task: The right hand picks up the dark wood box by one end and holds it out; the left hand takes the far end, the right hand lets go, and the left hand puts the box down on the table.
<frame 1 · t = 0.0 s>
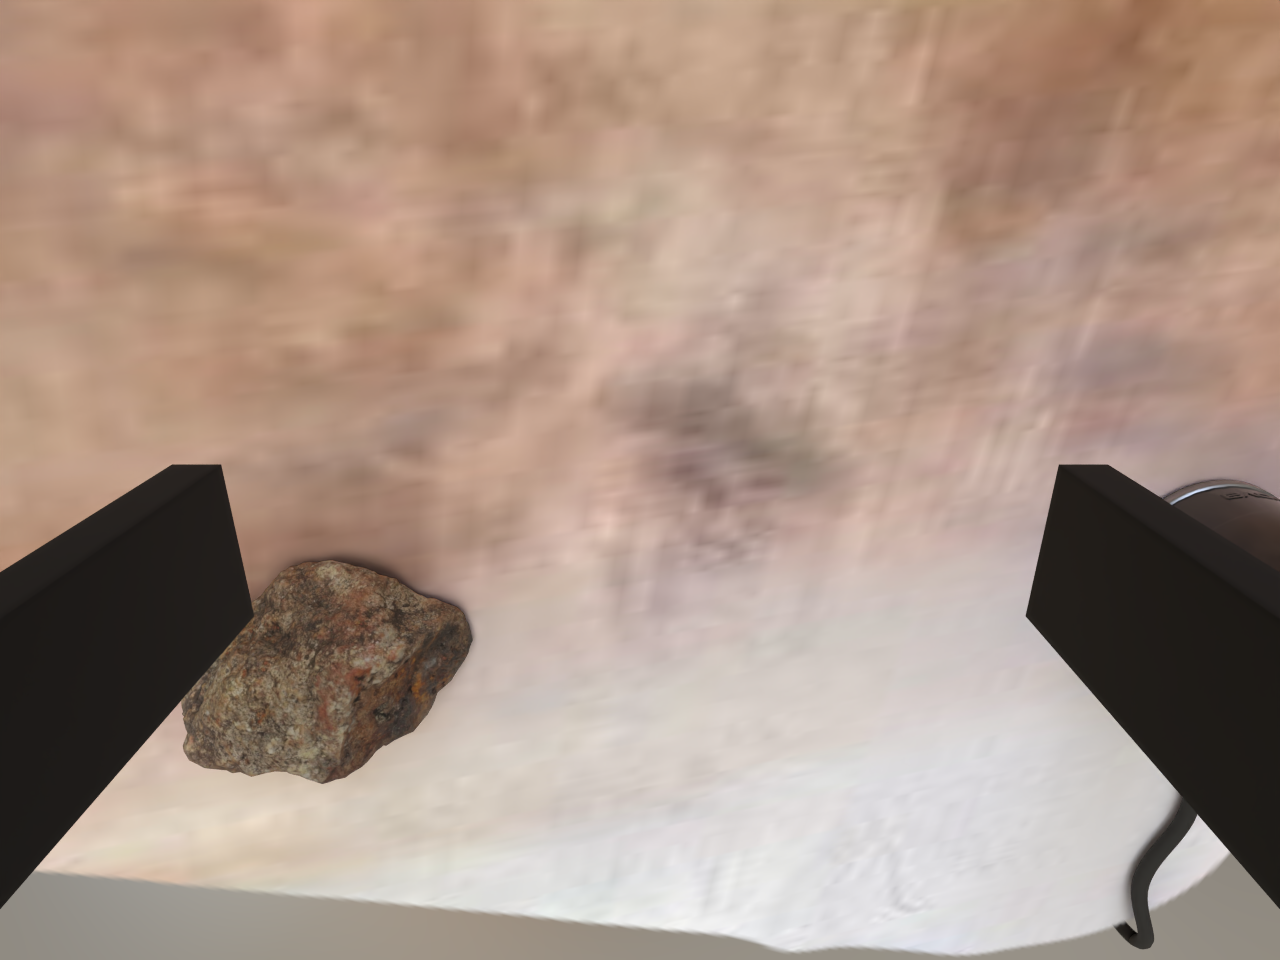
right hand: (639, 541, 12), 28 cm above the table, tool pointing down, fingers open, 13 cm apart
rock: (349, 628, 46), on the table
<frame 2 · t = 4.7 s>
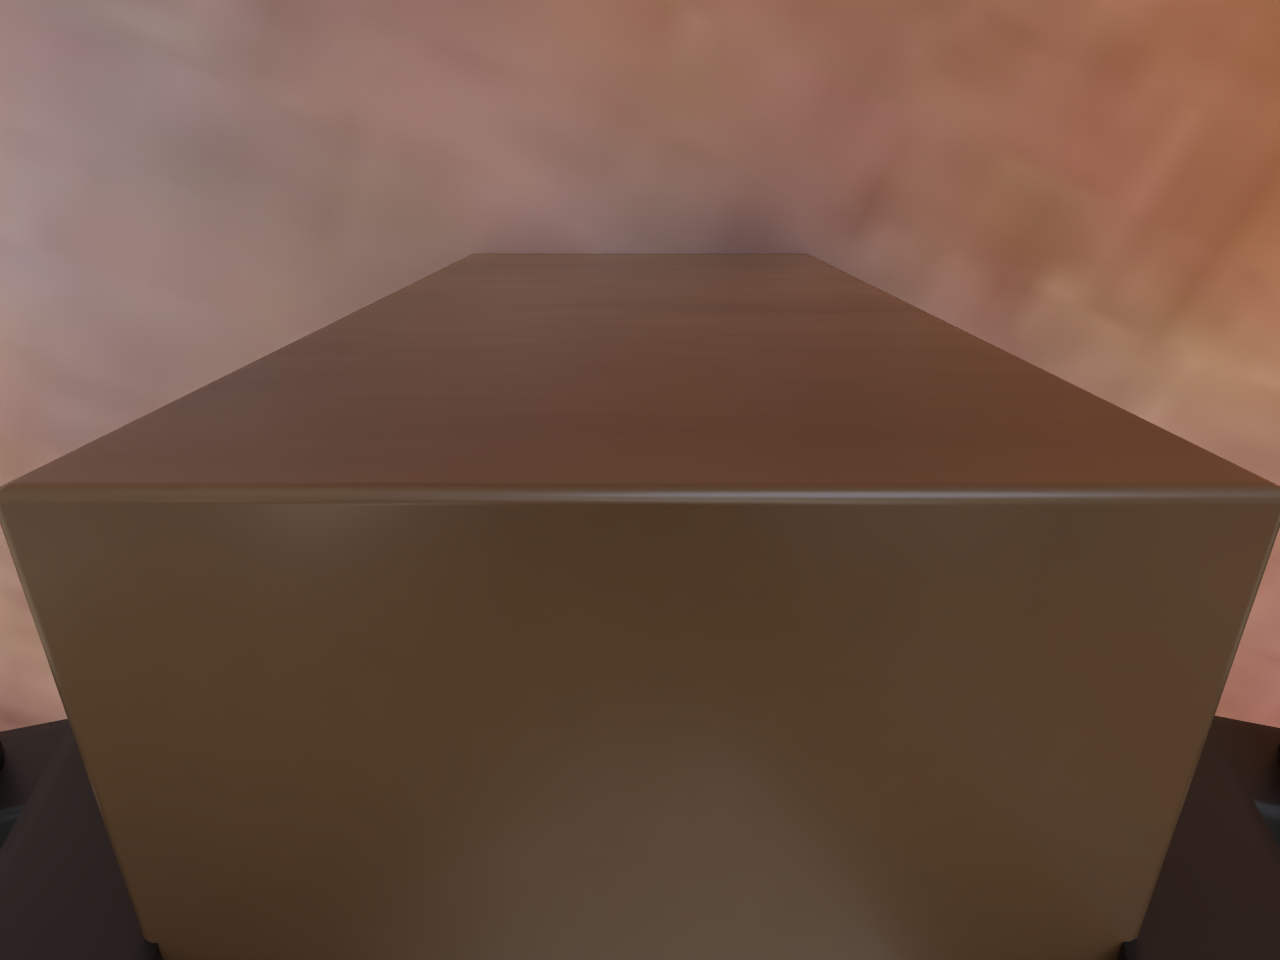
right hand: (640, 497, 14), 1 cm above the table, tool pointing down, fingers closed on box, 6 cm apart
box: (640, 766, 18), on the table, touching right hand
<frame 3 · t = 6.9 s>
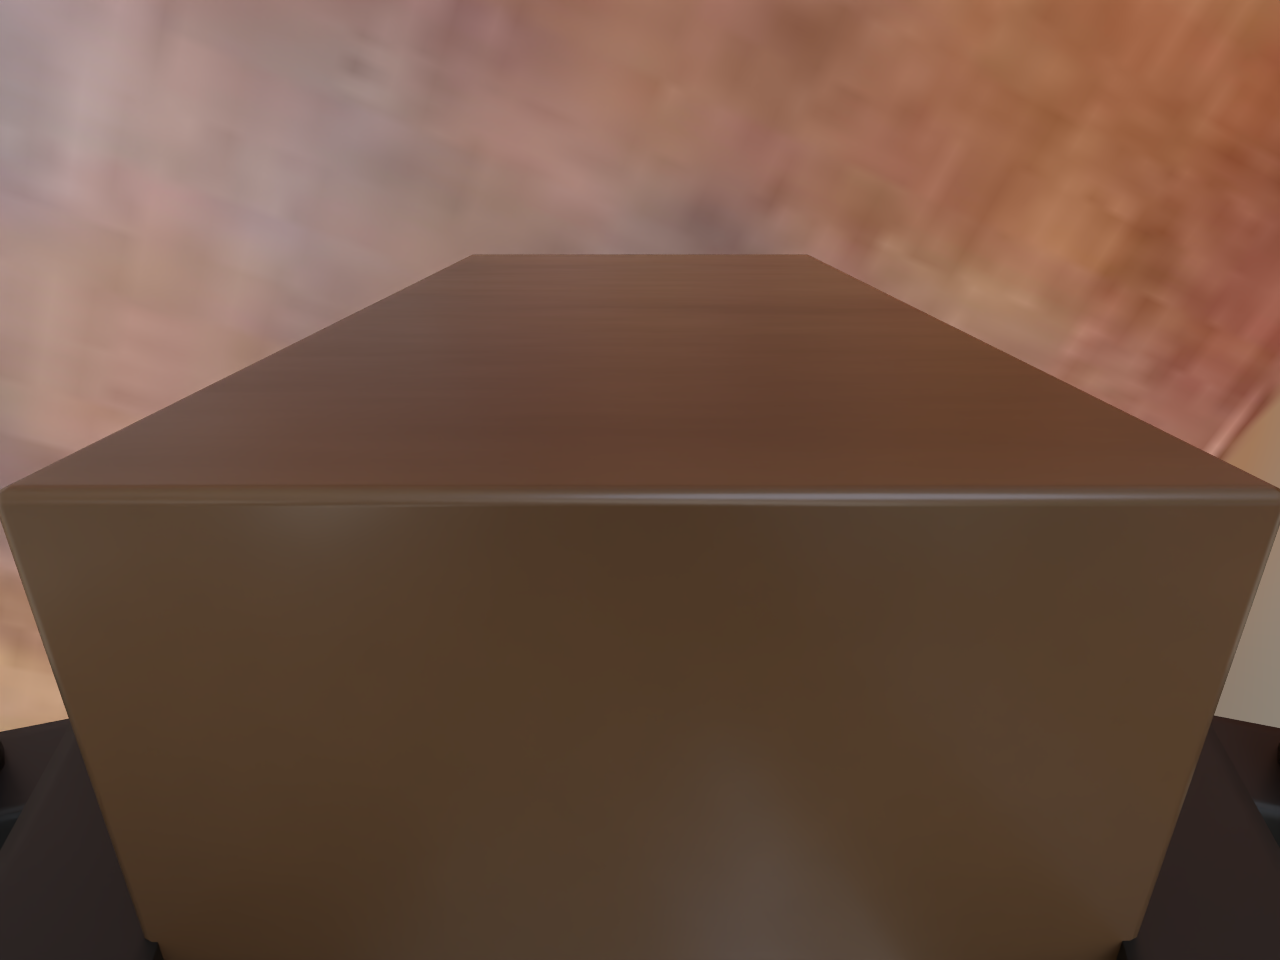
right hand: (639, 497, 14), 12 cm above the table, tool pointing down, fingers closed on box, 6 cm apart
box: (640, 767, 18), point 10 cm above the table, touching right hand
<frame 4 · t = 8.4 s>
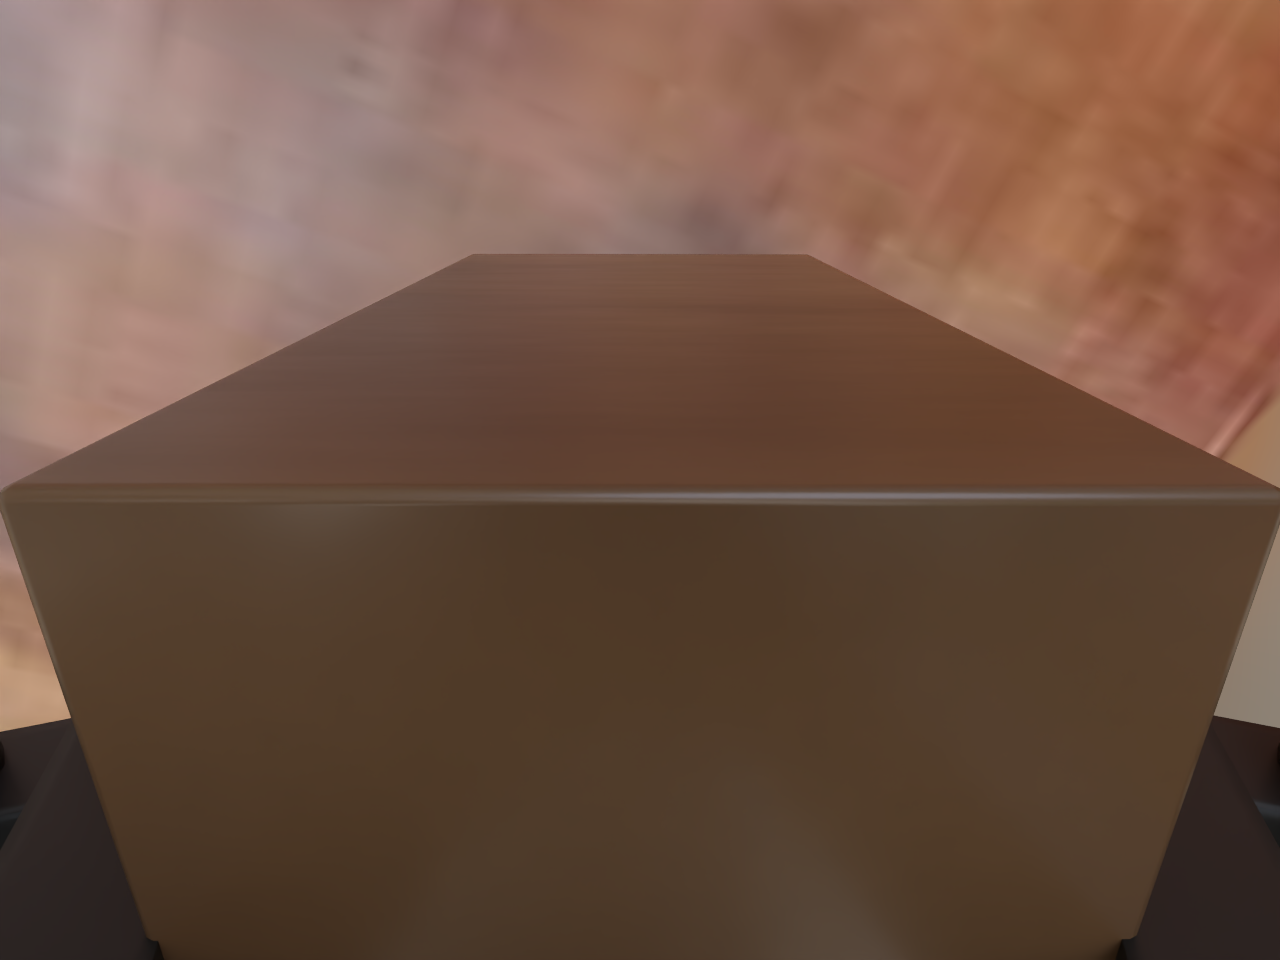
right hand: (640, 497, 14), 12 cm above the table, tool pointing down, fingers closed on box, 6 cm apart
box: (639, 766, 18), point 10 cm above the table, touching right hand, left hand
when the right hand's fingers open (12 cm above the table, at t = 9.5 s): box stays where it is, held by the left hand.
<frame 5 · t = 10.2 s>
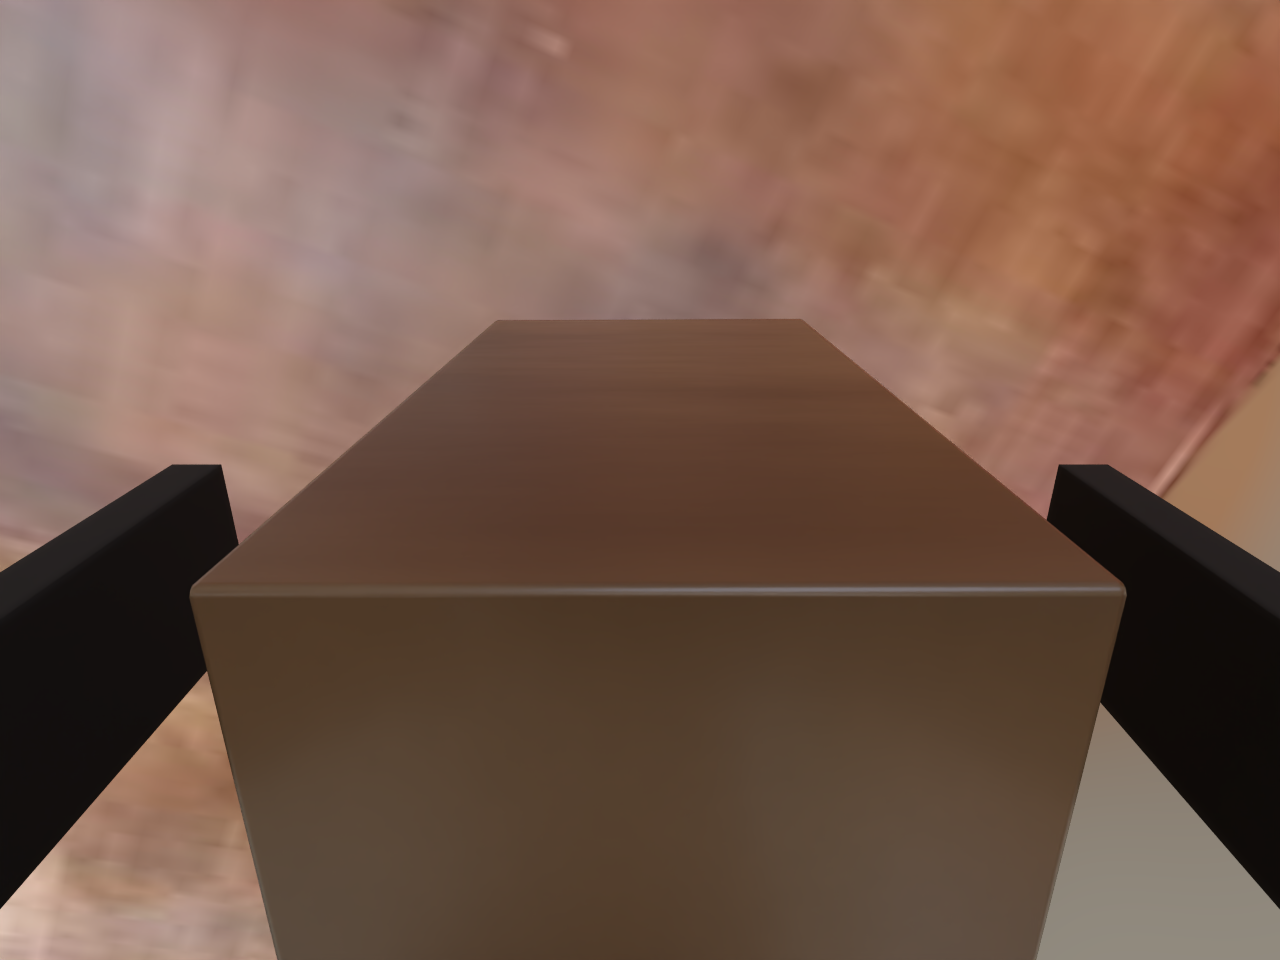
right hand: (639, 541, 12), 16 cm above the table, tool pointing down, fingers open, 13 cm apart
box: (649, 786, 19), point 12 cm above the table, touching left hand
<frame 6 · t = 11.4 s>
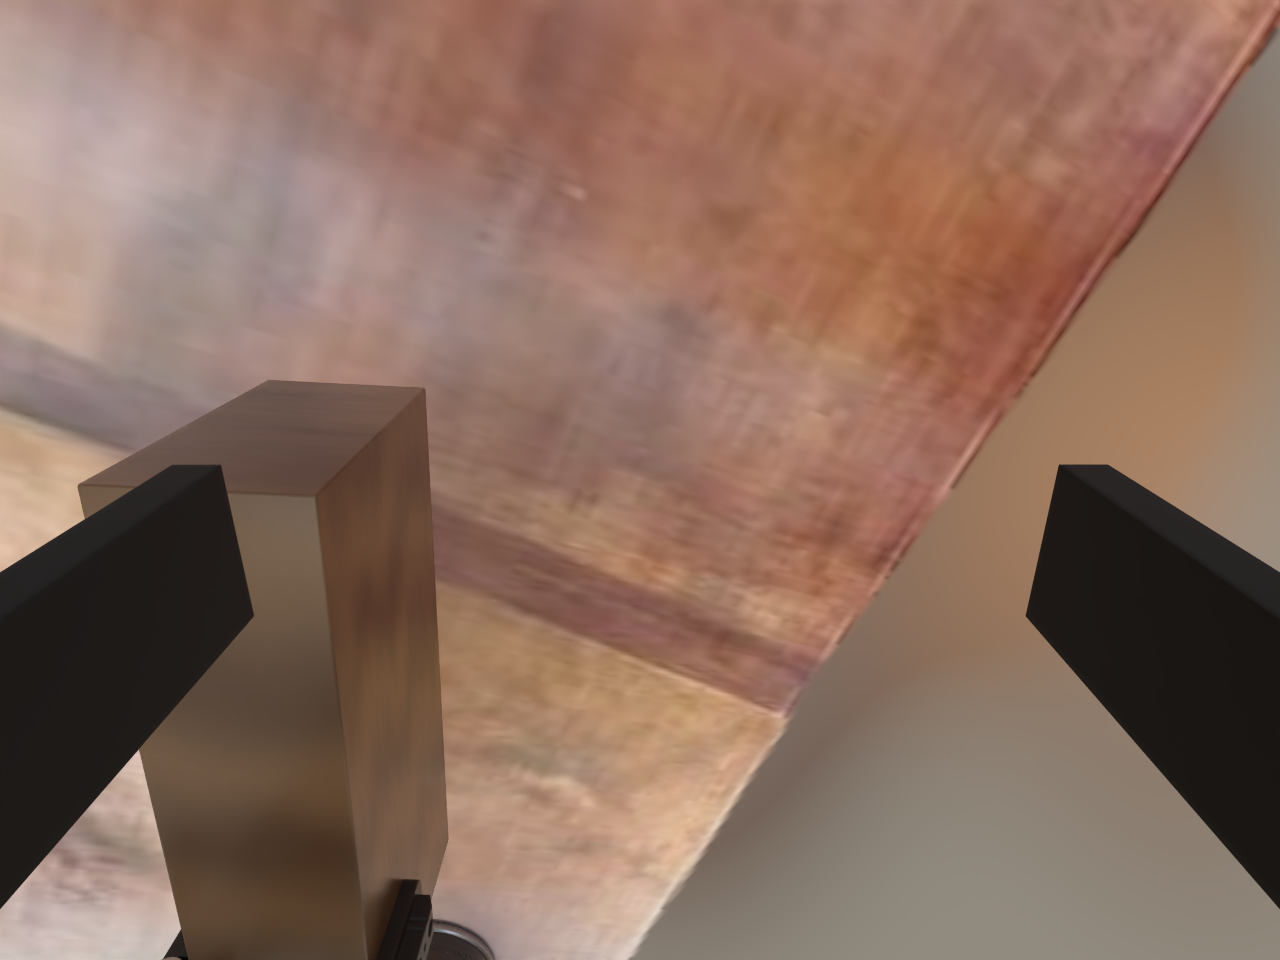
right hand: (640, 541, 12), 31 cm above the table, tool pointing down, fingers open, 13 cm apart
box: (369, 638, 34), point 13 cm above the table, touching left hand
when the left hand's fingers open (8 cm above the table, at t = 14.2 s): box drops 2 cm, on the table.
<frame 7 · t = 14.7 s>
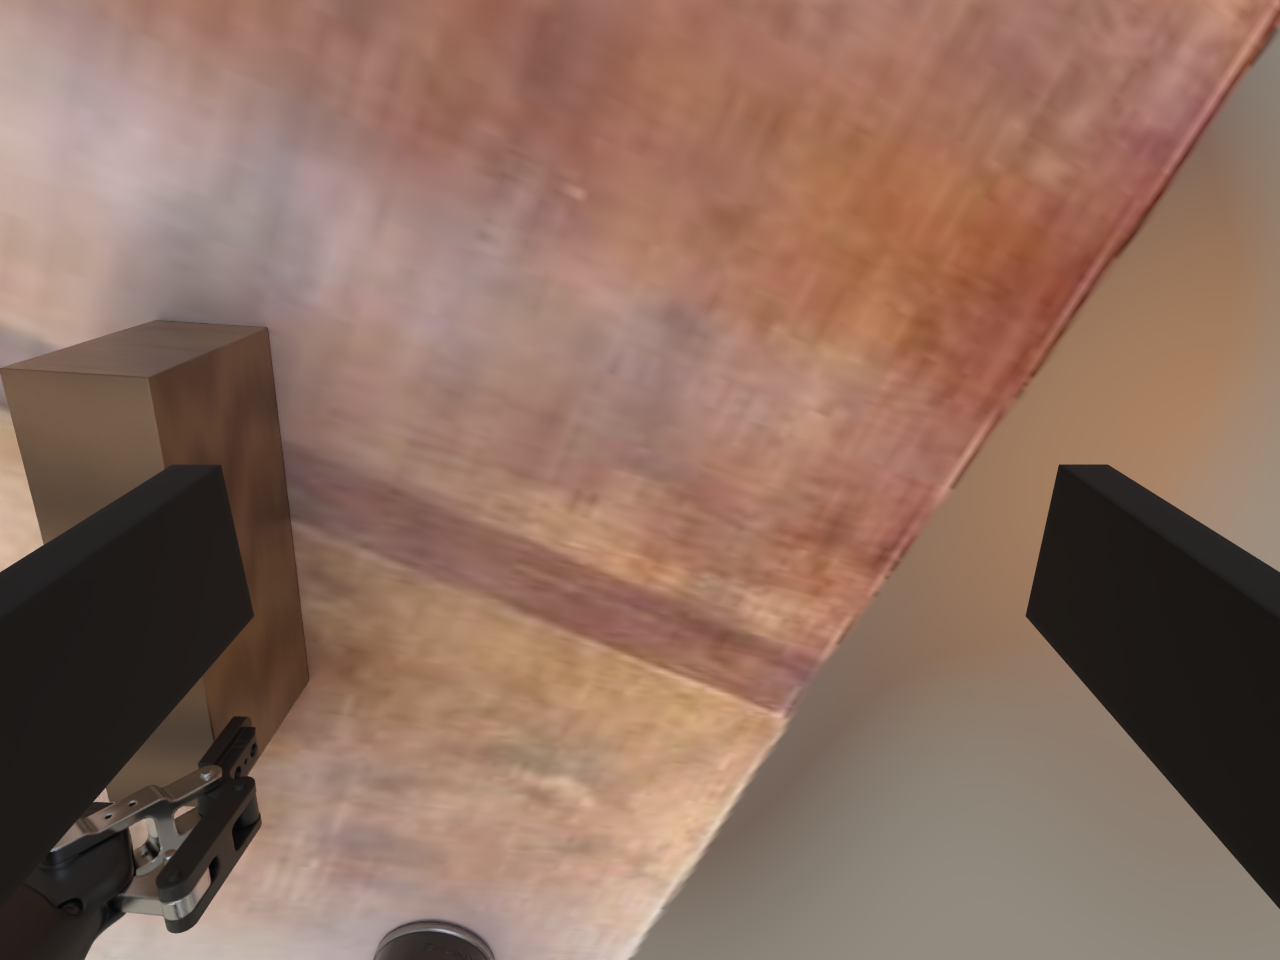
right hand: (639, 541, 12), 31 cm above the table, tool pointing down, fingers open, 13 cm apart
box: (239, 517, 46), on the table
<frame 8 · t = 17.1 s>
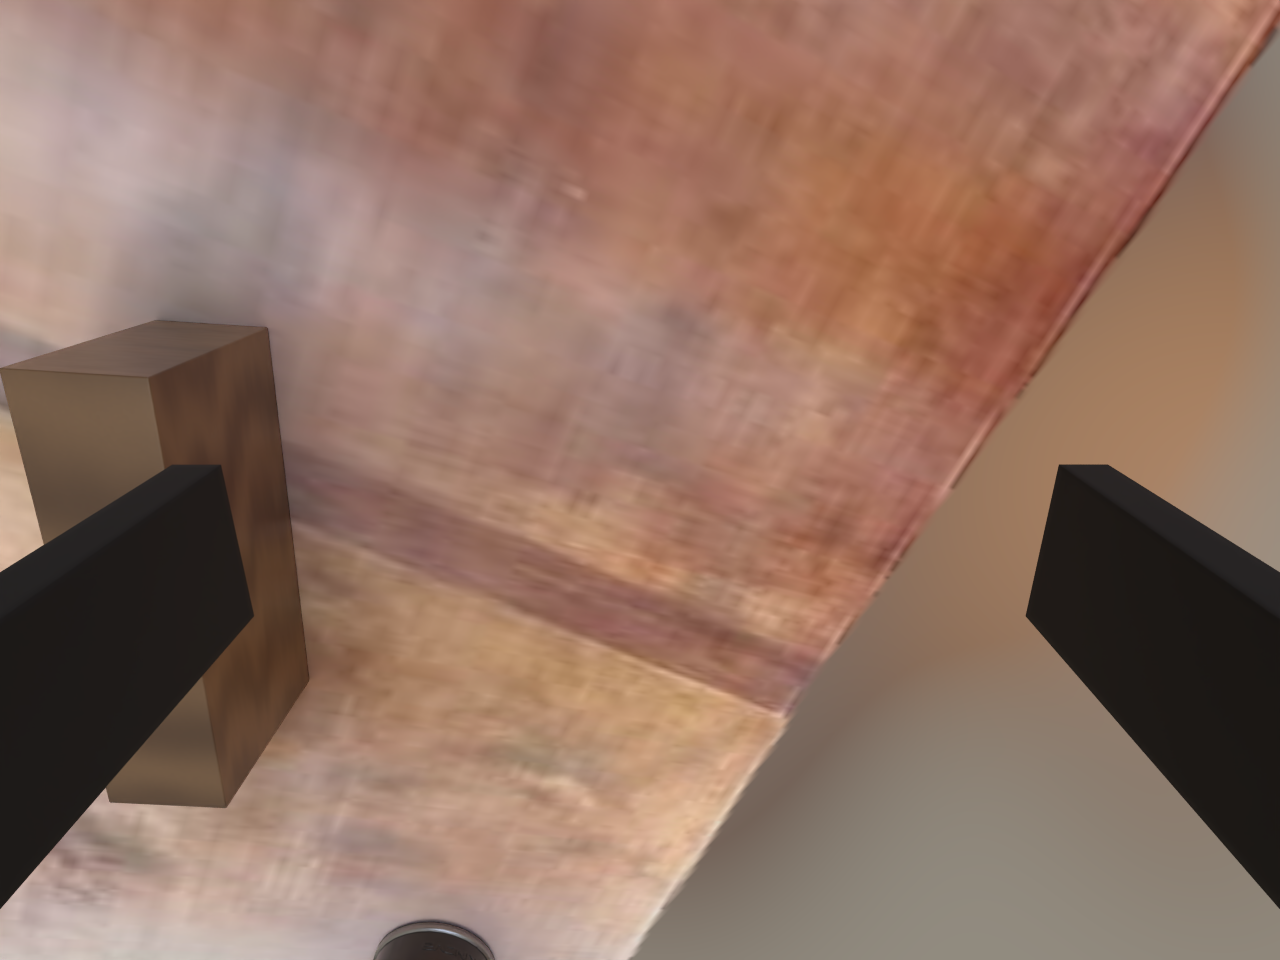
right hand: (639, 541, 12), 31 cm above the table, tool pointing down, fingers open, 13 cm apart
box: (239, 517, 46), on the table
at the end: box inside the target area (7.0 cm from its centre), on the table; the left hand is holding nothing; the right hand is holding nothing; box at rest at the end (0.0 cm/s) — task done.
